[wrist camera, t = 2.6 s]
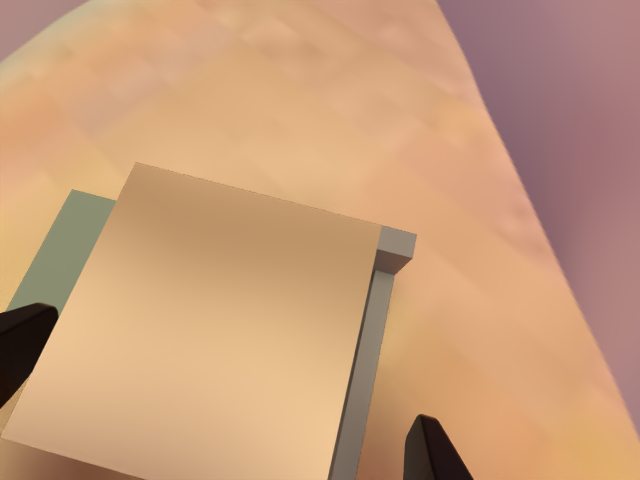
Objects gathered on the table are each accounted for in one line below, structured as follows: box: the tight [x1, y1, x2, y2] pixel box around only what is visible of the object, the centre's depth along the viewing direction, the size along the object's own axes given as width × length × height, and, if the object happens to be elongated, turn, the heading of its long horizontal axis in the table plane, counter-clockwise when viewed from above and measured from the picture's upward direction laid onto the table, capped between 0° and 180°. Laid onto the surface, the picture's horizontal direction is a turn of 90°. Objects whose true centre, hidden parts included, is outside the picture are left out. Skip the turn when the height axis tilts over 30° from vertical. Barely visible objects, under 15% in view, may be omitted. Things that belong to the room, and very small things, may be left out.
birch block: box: [0, 162, 382, 480], centre depth 10 cm, size 4×4×10 cm
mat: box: [5, 189, 116, 317], centre depth 18 cm, size 7×7×1 cm
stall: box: [184, 174, 417, 480], centre depth 14 cm, size 9×9×6 cm
